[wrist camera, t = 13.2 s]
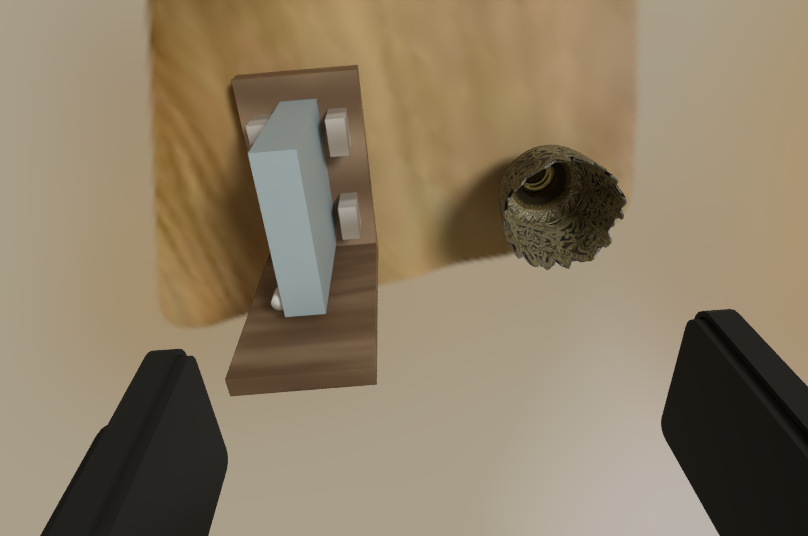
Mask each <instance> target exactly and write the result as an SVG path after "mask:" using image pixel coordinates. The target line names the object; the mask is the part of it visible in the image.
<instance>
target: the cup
mask: <svg viewBox="0 0 808 536" xmlns="http://www.w3.org/2000/svg"><path fill="white" fill-rule="evenodd" d="M543 169H545V174H544V176H543V178H542V179H541V180H539V181H538V182H535V183H530V182H527V181H526V179H528V178H530V177H531V176H533V175H534V174H536V173H537V172H539V171H541V170H543ZM617 183H618V180H617V179H616V178H615V177H614V176H613V175H612V174H610V173H609V172H607V171H606V169H605V168H604V167H602V166H600V165H599V164H597V163H596V162H594V161H592V160H591V159H589V158H588V157H586V156H584V155H582V154H581V153H579V152H577V151H575V150H573V149H570V148H567V147H564V146H558V145H544V146H539V147H535V148H533V149H530V150H528V151H526V152H524V153H523V154H521V155H520V156H519V157H517V158H516V159H515V160H514V161H513V162H512V163H511V165H510V166H509V167H508V169H507V170H506V172H505V174H504V176H503V179H502V182H501V186H500V193H499V201H500V211H501V217H502V222H503V227H504V236H505V239H506V241H507V243H508V244H509V245H510V246H512V247H513V249H514V252H515V255H516V256H517V257H518V258H522V257H523V256H524V257H525V259H526V260H527V262H528V263H529V264H530V265H532V266H534V267H538V266H542V267H544V268H545V269H546V270H548V269H550V268H551V267H552V266H554V265H555V262H557V263H558V264H560V266H563V267H565V268H568V269H569V268H570V265H571V262H572V261H579V262H585V261H592V260H594V259H595V257H596V256H597V254H598V252H599V251H600V249H601V248H602V247H607V246H609V245H610V244H611V241H612V238H611V237H610V236H609V230H610V228H611V227H613V226H614V221H615V219H618V218H620V219H623V218H624V214H623V211H622V210H621V208H622V207H624V206H625V205H626V198H625V196H624V194H623V193H622V191H621V190H620V189H619V187H618V186H617Z"/></svg>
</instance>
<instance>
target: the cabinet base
mask: <svg viewBox="0 0 808 536" xmlns="http://www.w3.org/2000/svg"><path fill="white" fill-rule="evenodd" d="M231 82H232V86H233V90H234V95H235V99H236V104H237V108H238V112H239V117H240V121H241V125H242V130H243V134H244V139H245V143H246V147H247V152H249V151H250V149H251V144H254V143H255V141H256V139H257V138H258V136H259V134H260V133H261V131H262V130H263V128H264V126H265V125H266V123H267V122H268V120H269V118H270V117H271V115H272V113H273V112H274V110H275V109H276V107H277V105H278V104H279V102H283V101H295V100H307V99H317V105H318V111H319V118H320V124H321V131H322V137H323V144H324V151H325V157H326V164H327V170H328V177H329V183H330V190H331V196H332V203H333V209H334V216H335V223H336V229H337V241H336V248H335V255H334V262H333V269H332V276H331V282H330V289H329V296H328V303H327V310H326V314H319V315H307V316H294V317H285V314H284V310H276V309H274V308H273V307H272V305H271V301H272V298H273V295H274V291H275V289H276V288H277V287H278V284H277V279H276V275H275V271H274V266H273V262H272V257H271V253H270V254H269V257H268V260H267V262H266V265H265V268H264V271H263V274H262V277H261V279H260V282H259V285H258V288H257V291H256V294H255V296H254V299H253V302H252V305H251V308H250V311H249V313H248V316H247V319H246V322H245V325H244V328H243V330H242V333H241V336H240V339H239V342H238V345H237V347H236V350H235V353H234V356H233V359H232V362H231V365H230V367H229V370H228V373H227V376H226V379H225V381H226V384H227V387H228V390H229V393H230V396H238V395H239V396H240V395H252V394H264V393H276V392H288V391H301V390H314V389H327V388H339V387H351V386H364V385H376V384H377V300H378V299H377V296H378V295H377V294H378V243H377V234H376V225H375V216H374V207H373V198H372V189H371V180H370V171H369V162H368V154H367V145H366V136H365V127H364V118H363V109H362V100H361V91H360V82H359V73H358V65H352V66H340V67H329V68H317V69H305V70H293V71H281V72H269V73H257V74H246V75H236V76H235V77H234V78H233V79H232V80H231Z"/></svg>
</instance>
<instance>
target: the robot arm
mask: <svg viewBox="0 0 808 536" xmlns="http://www.w3.org/2000/svg"><path fill="white" fill-rule="evenodd" d="M661 427H662V431H663V435H664V437H665V439H666V441H667V443H668V445H669V446H670V448H671V450H672V452H673V454H674V455H675V457H676V459H677V461H678V462H679V464H680V466H681V468H682V470H683V471H684V473H685V475H686V477H687V478H688V480H689V482H690V484H691V486H692V487H693V489H694V491H695V493H696V494H697V496H698V498H699V500H700V502H701V503H702V505H703V507H704V509H705V510H706V512H707V514H708V516H709V517H710V519H711V521H712V523H713V525H714V526H715V528H716V530H717V532H718V533H719V535H720V536H808V387H807V385H806V384H805V383H804V382H803V381H802V380H801V379H800V378H799V377H798V376H797V375H796V374H795V373H794V372H793V371H792V369H790V367H789V366H788V365H787V364H786V363H785V362H784V361H783V360H782V359H781V358H780V357H779V356H778V355H777V354H776V352H775V351H774V350H773V349H772V348H771V347H770V346H769V345H768V344H767V343H766V342H765V341H764V340H763V339H762V338H761V337H760V335H759V334H757V332H756V331H755V330H754V329H753V328H752V327H751V326H750V325H749V324H748V323H747V322H746V321H745V320H744V319H743V317H742V316H741V315H740V314H739V313H737V312H736V311H735V310H731V309H726V310H711V311H701V312H698V313H697V315H696V316H695V318H694V319H693V320H689V321H688V322H687V325H686V327H685V331H684V335H683V339H682V343H681V346H680V350H679V354H678V358H677V362H676V365H675V369H674V373H673V377H672V381H671V384H670V388H669V392H668V396H667V399H666V404H665V407H664V411H663V415H662V419H661ZM227 464H228V455H227V450H226V446H225V444H224V441H223V438H222V435H221V432H220V429H219V426H218V423H217V420H216V417H215V414H214V411H213V408H212V405H211V402H210V400H209V397H208V394H207V391H206V388H205V385H204V382H203V379H202V376H201V374H200V370H199V368H198V364H197V362H196V359H195V358H194V357H193V356H187V355H186V353H185V352H184V351H183V350H182V349H171V350H157V351H150V352H149V353H147V355H146V356H145V358H144V360H143V361H142V363H141V365H140V367H139V369H138V371H137V373H136V374H135V376H134V378H133V380H132V381H131V383H130V385H129V387H128V389H127V391H126V392H125V394H124V396H123V398H122V400H121V401H120V403H119V405H118V407H117V409H116V411H115V412H114V414H113V416H112V418H111V420H110V422H109V423H108V425H107V426H105V427H104V428H102V429H101V430H100V432H99V433H98V434H97V436H96V437H95V439H94V441H93V442H92V445H91V446H90V448H89V450H88V451H87V453H86V455H85V457H84V459H83V460H82V462H81V464H80V466H79V468H78V469H77V471H76V473H75V475H74V476H73V478H72V480H71V482H70V484H69V485H68V487H67V489H66V491H65V492H64V494H63V496H62V498H61V500H60V501H59V503H58V505H57V507H56V509H55V510H54V512H53V514H52V516H51V518H50V519H49V521H48V523H47V525H46V526H45V528H44V530H43V532H42V534H41V535H40V536H208V534H209V531H210V527H211V524H212V520H213V517H214V513H215V509H216V506H217V502H218V499H219V495H220V492H221V488H222V484H223V481H224V478H225V474H226V470H227Z"/></svg>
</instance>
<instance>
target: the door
mask: <svg viewBox="0 0 808 536" xmlns="http://www.w3.org/2000/svg"><path fill="white" fill-rule="evenodd" d="M248 156H249V161H250V165H251V170H252V174H253V178H254V183H255V187H256V192H257V196H258V200H259V205H260V209H261V213H262V218H263V222H264V227H265V231H266V235H267V240H268V244H269V249H270V253H271V257H272V262H273V266H274V271H275V275H276V279H277V284H278V287H277V288H276V289H275V291H274V295H273V298H272V301H271V305H272V307H273V308H274V309H276V310H284V314H285V317H294V316H307V315H319V314H326V310H327V303H328V296H329V289H330V282H331V276H332V269H333V262H334V255H335V248H336V241H337V229H336V223H335V216H334V209H333V203H332V196H331V190H330V183H329V177H328V170H327V164H326V157H325V151H324V144H323V137H322V131H321V124H320V118H319V111H318V105H317V99H307V100H295V101H283V102H279V104H278V105H277V107H276V109H275V110H274V112H273V113H272V115H271V117H270V118H269V120H268V122H267V123H266V125H265V126H264V128H263V130H262V131H261V133H260V134H259V136H258V138H257V139H256V141H255V143H254V144H251V149H250V151H249V152H248Z"/></svg>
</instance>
